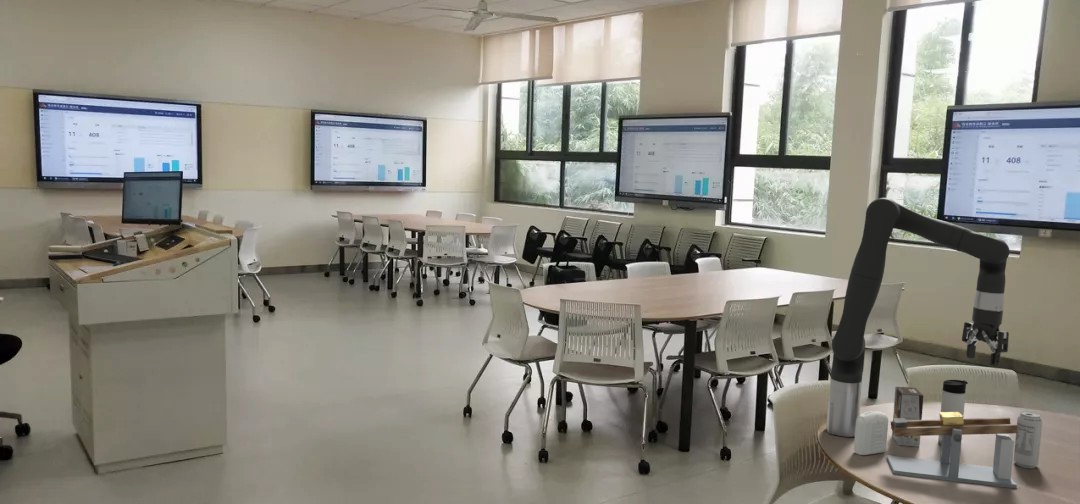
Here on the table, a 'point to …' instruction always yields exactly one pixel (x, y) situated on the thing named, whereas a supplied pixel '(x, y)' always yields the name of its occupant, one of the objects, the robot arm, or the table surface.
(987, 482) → the stand
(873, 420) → the photo printer
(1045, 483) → the table surface
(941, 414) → the gold metal cube
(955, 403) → the travel mug
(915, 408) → the coffee box
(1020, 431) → the energy drink can
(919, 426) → the beam
